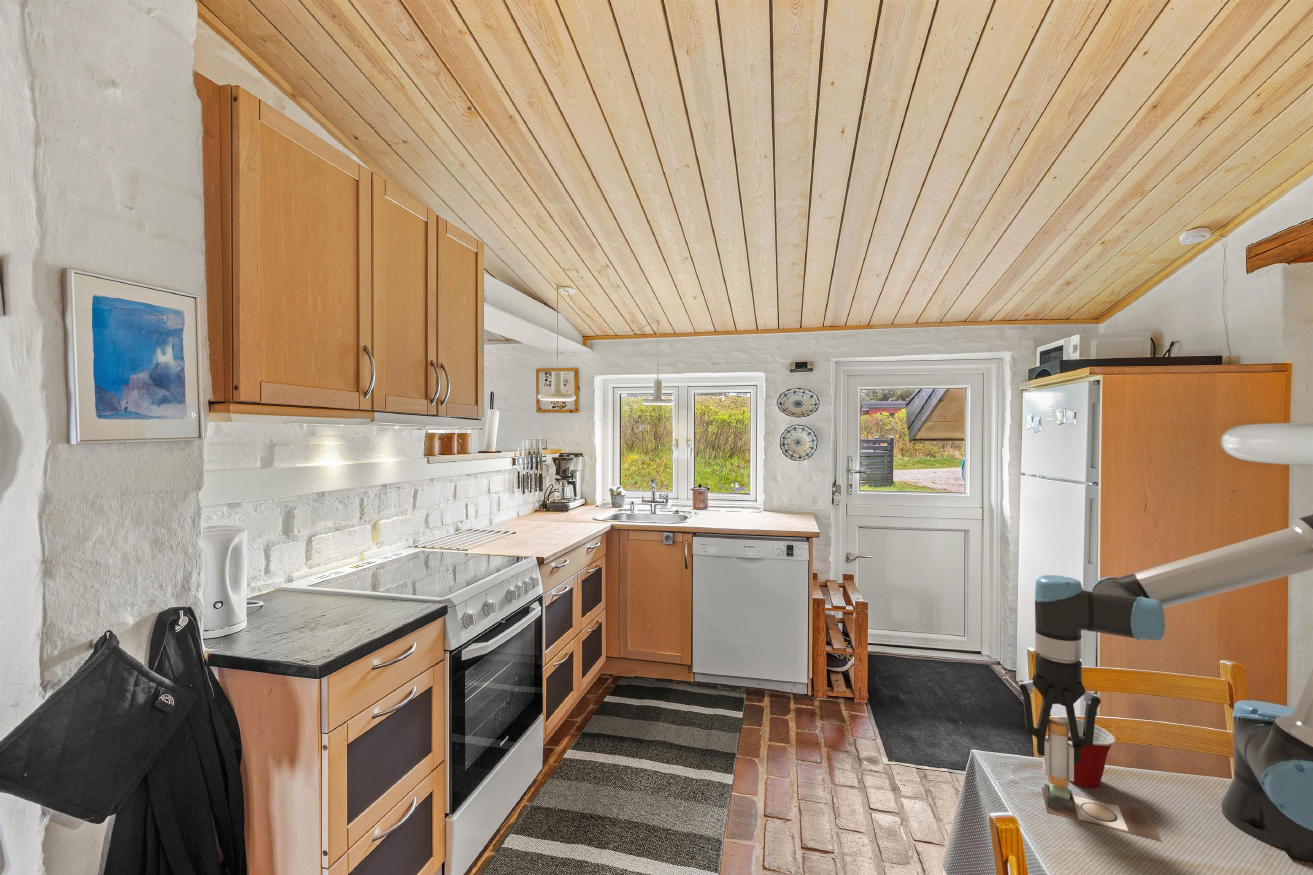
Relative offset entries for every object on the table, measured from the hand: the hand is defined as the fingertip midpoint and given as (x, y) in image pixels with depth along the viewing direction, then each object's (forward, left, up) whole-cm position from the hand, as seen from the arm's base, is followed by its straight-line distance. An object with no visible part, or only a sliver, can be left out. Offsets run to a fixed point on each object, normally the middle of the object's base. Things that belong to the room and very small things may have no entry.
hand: (1058, 774), depth 112 cm
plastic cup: (-6, -11, -7) cm, 15 cm away
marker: (0, 0, -2) cm, 2 cm away
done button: (0, 0, -5) cm, 5 cm away
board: (-6, 0, -7) cm, 9 cm away
